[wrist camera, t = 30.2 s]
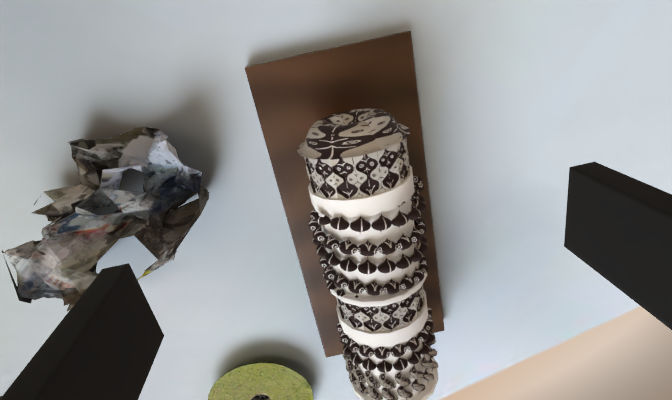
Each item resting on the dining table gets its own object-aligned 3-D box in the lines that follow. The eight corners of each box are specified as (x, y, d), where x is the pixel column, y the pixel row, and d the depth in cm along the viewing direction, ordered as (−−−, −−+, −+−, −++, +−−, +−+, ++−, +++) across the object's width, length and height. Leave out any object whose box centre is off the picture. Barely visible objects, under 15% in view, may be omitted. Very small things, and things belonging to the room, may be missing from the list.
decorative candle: (464, 382, 35) (446, 107, 25) (377, 437, 32) (315, 148, 22) (405, 324, 43) (373, 96, 32) (331, 363, 40) (269, 125, 29)
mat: (304, 342, 42) (305, 355, 40) (318, 414, 46) (319, 429, 44) (199, 359, 41) (195, 373, 40) (224, 430, 46) (221, 446, 44)
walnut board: (440, 323, 43) (444, 330, 42) (325, 349, 42) (326, 357, 41) (406, 31, 31) (410, 30, 30) (246, 66, 31) (244, 67, 30)
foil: (239, 262, 34) (31, 358, 25) (194, 220, 41) (24, 284, 33) (208, 130, 28) (-64, 198, 20) (163, 111, 36) (-46, 155, 28)
